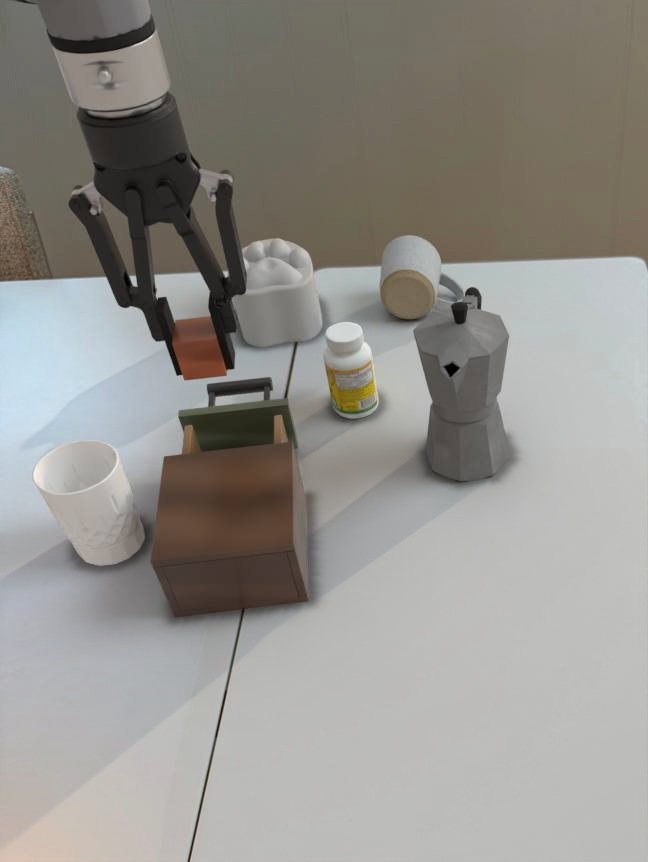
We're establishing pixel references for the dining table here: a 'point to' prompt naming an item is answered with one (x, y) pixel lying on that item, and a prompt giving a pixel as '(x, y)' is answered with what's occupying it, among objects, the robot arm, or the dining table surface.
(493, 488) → the dining table surface
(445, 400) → the coffeepot
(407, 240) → the ceramic mug
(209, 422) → the drawer
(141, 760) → the dining table surface
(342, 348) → the supplement bottle
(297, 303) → the lumpy-topped squat cylinder
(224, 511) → the cabinet
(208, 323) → the block
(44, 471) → the white cup
